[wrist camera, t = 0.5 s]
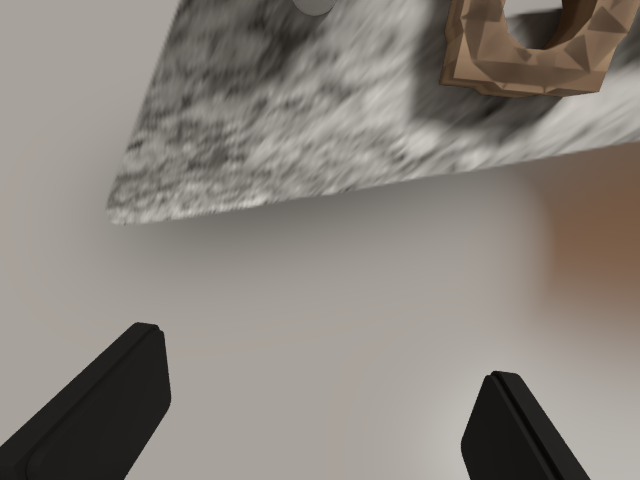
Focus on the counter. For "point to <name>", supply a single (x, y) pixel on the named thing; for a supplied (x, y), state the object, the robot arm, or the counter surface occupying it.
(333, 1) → the beverage can
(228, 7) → the counter surface
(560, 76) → the socket block
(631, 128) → the counter surface
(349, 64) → the counter surface
